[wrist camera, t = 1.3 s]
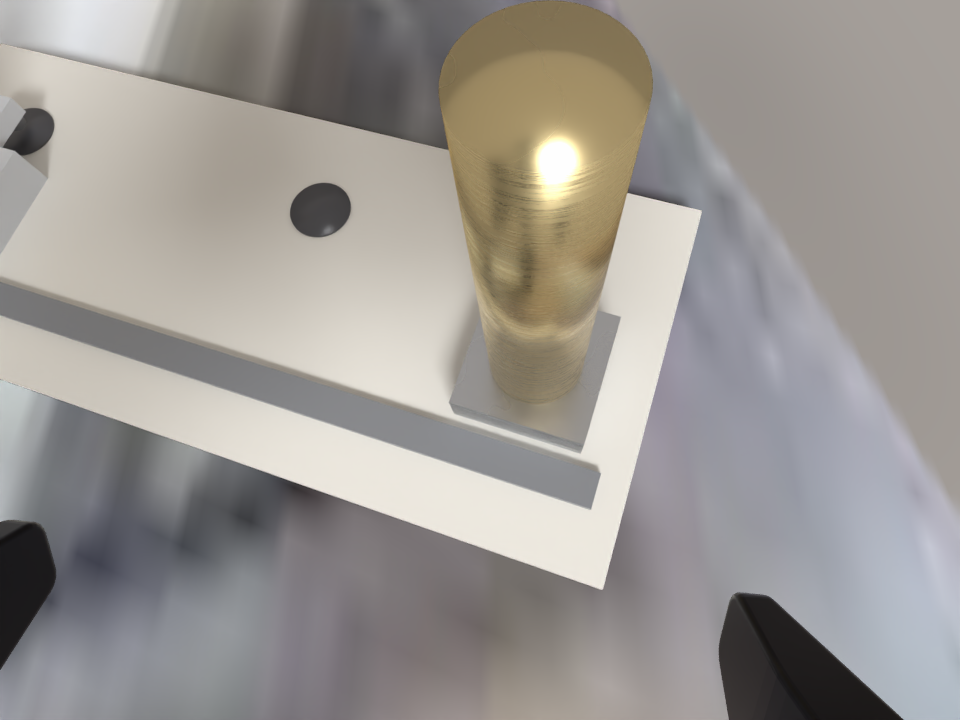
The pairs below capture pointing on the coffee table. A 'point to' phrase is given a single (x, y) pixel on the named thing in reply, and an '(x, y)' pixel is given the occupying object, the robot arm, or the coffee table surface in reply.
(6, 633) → the robot arm
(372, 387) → the plate
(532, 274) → the leg
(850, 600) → the coffee table surface
